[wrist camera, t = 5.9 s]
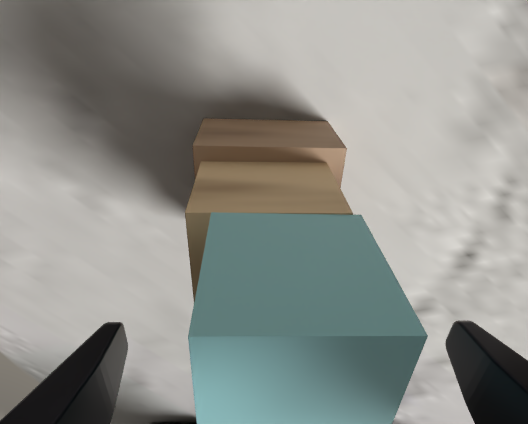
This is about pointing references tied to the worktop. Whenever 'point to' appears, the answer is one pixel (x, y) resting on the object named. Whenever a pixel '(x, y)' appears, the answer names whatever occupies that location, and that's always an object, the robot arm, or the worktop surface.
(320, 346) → the teal cube
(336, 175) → the tower base
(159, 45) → the worktop surface
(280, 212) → the tower top
